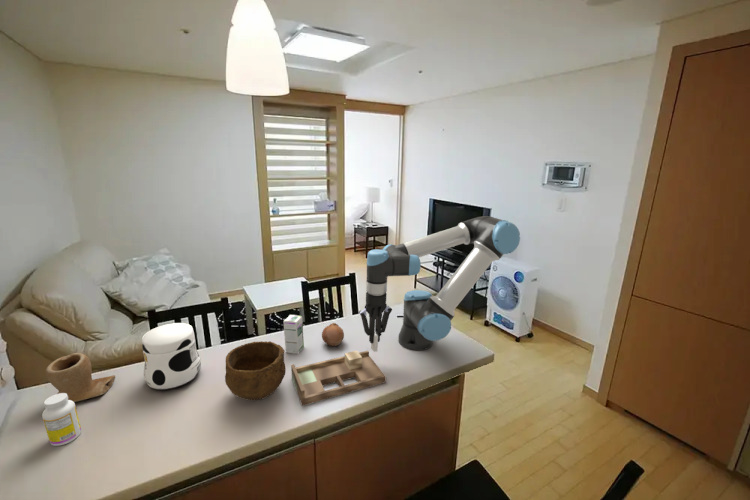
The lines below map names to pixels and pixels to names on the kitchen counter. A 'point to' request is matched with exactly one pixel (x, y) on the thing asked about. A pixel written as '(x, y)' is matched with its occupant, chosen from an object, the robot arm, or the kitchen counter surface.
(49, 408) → the supplement bottle
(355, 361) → the maple block
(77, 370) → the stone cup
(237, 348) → the bowl
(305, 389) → the board
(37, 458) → the kitchen counter surface
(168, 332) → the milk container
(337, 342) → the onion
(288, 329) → the syrup box
